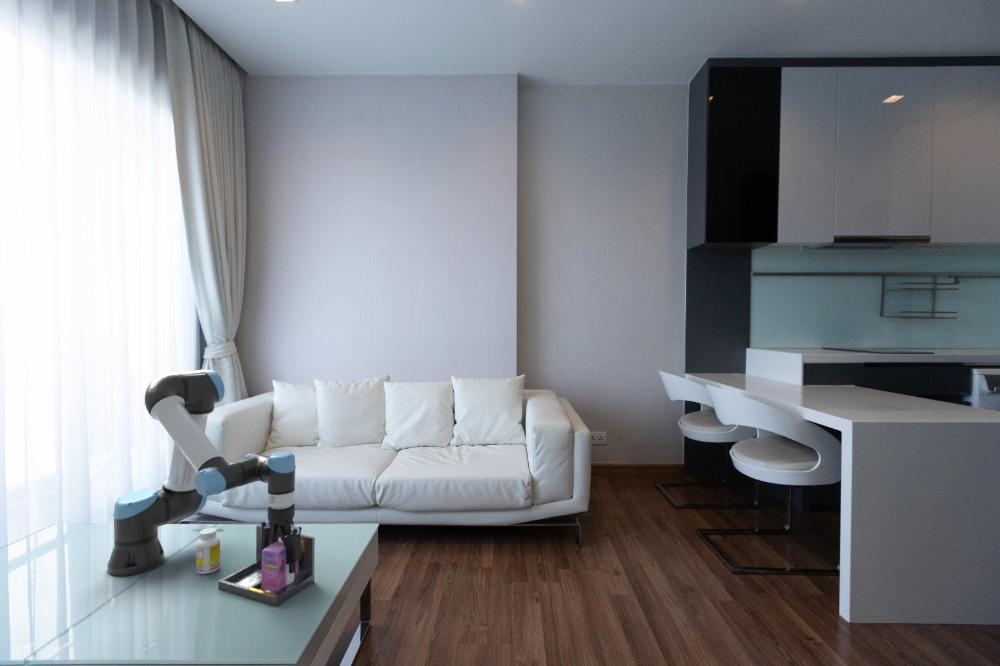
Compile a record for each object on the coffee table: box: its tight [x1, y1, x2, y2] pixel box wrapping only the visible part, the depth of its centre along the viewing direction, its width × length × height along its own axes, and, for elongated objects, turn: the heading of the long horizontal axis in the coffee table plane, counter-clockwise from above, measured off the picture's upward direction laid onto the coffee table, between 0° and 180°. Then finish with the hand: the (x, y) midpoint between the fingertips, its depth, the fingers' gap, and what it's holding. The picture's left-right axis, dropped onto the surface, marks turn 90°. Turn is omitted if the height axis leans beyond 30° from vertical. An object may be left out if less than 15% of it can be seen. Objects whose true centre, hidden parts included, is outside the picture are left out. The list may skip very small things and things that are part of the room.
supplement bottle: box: [195, 527, 221, 575], centre depth 164 cm, size 7×7×13 cm
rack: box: [217, 524, 316, 608], centre depth 155 cm, size 23×15×14 cm, turn 68°
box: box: [262, 536, 299, 591], centre depth 153 cm, size 10×6×12 cm, turn 168°
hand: (280, 580), depth 153 cm, fingers closed on box, 6 cm apart
